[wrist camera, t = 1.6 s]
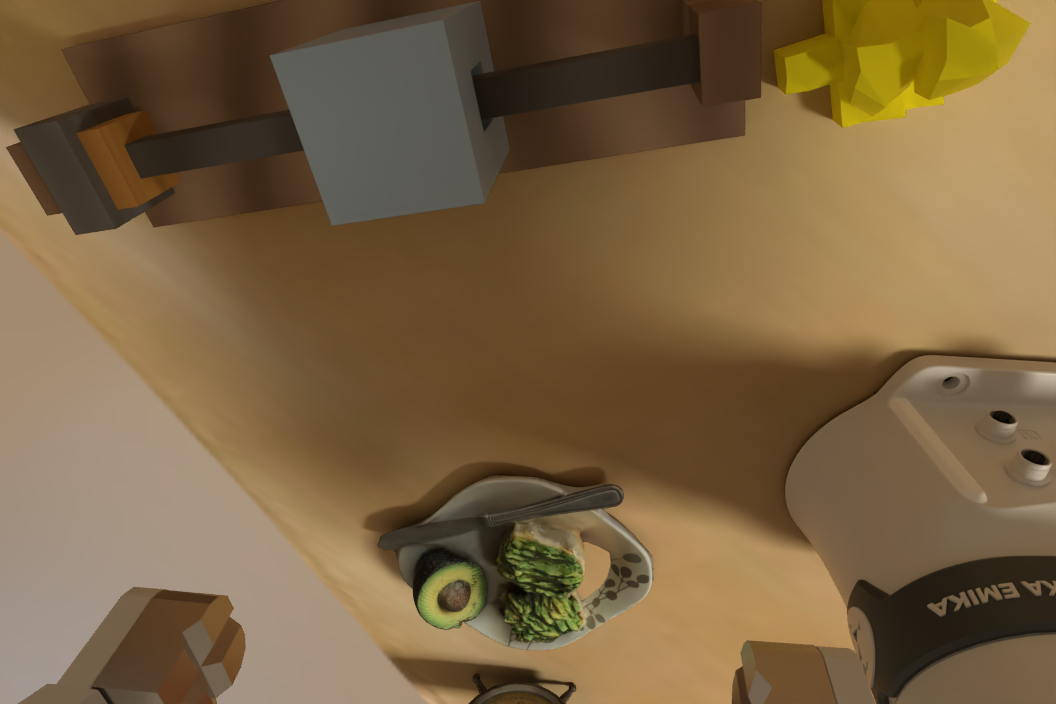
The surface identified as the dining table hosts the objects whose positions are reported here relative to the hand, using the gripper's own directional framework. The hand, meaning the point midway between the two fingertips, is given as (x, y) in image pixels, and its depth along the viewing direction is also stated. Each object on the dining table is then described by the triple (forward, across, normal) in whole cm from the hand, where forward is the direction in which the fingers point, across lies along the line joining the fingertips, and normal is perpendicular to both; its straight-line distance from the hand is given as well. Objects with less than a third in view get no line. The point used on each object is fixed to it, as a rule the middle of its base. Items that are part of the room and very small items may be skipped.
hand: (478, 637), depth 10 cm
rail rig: (+26, +8, -3) cm, 27 cm away
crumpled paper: (+26, -13, -5) cm, 30 cm away
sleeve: (+23, +6, -4) cm, 24 cm away
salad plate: (+26, +3, +30) cm, 40 cm away
